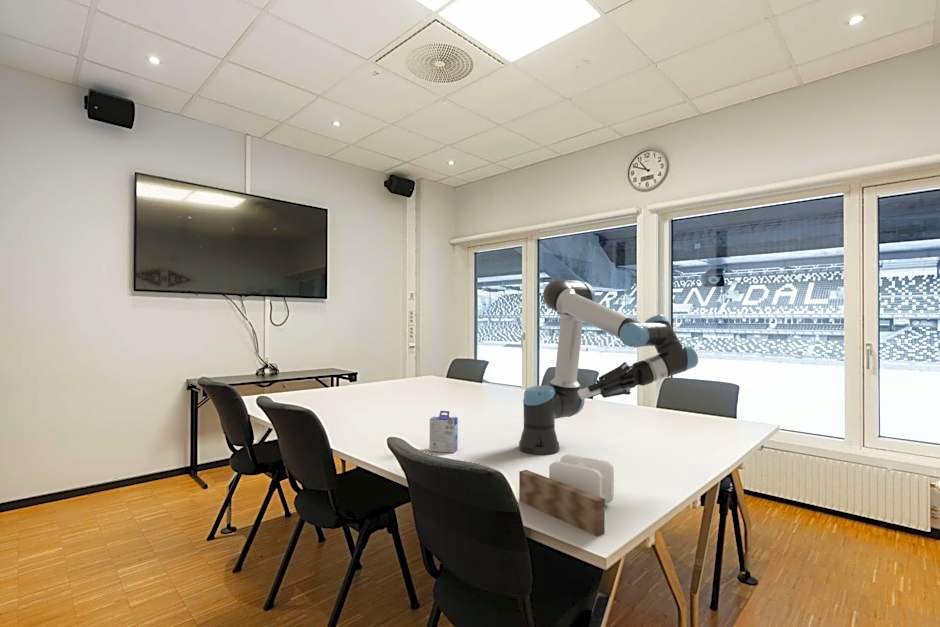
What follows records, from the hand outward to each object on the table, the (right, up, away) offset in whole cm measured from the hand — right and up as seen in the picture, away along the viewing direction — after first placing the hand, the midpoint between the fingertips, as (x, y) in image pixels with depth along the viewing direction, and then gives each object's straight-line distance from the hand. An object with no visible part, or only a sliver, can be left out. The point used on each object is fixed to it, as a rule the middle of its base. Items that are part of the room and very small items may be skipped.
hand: (579, 395), depth 149 cm
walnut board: (-12, -25, -30) cm, 41 cm away
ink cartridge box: (-44, -26, +29) cm, 59 cm away
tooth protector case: (-5, -26, -22) cm, 34 cm away
